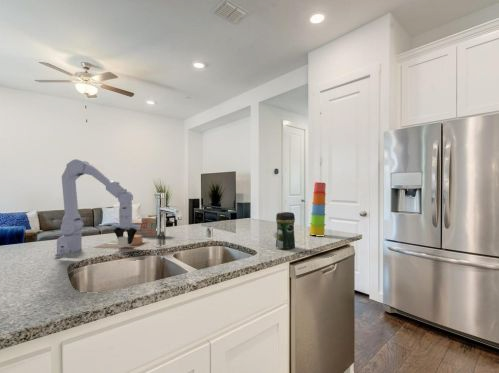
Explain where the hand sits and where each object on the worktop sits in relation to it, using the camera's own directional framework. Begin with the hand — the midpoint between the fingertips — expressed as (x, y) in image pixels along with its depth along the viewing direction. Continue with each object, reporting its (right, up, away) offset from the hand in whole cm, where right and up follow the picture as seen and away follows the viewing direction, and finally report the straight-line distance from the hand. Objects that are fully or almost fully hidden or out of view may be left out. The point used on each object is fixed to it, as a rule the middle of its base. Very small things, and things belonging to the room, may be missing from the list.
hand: (125, 243), depth 126 cm
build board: (-4, -3, +5) cm, 7 cm away
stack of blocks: (-2, -3, +31) cm, 32 cm away
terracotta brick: (+1, -2, +8) cm, 9 cm away
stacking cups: (+106, -4, +39) cm, 113 cm away
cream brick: (0, -1, 0) cm, 1 cm away
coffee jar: (+80, -4, +6) cm, 81 cm away
